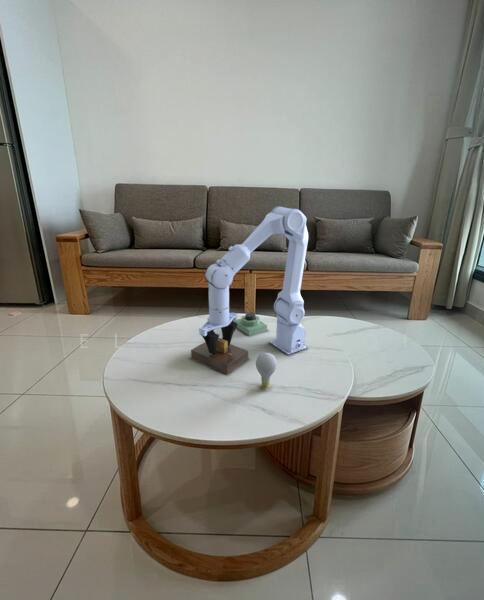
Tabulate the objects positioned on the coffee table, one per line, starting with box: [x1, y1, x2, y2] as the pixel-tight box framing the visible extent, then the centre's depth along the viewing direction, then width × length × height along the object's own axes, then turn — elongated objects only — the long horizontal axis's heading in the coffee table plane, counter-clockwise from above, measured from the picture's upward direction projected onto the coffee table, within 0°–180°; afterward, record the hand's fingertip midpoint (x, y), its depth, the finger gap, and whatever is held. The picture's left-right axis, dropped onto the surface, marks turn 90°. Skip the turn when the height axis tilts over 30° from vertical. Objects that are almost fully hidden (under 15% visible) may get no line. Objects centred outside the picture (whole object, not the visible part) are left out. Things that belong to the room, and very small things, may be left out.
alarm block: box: [234, 314, 268, 337], centre depth 117 cm, size 10×8×4 cm
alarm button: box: [245, 312, 256, 321], centre depth 116 cm, size 4×4×2 cm
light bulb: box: [255, 352, 278, 389], centre depth 83 cm, size 6×6×10 cm
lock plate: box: [190, 341, 249, 375], centre depth 97 cm, size 14×10×3 cm
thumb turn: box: [216, 336, 228, 354], centre depth 95 cm, size 5×2×4 cm, turn 55°
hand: (219, 348), depth 96 cm, fingers open, 6 cm apart
